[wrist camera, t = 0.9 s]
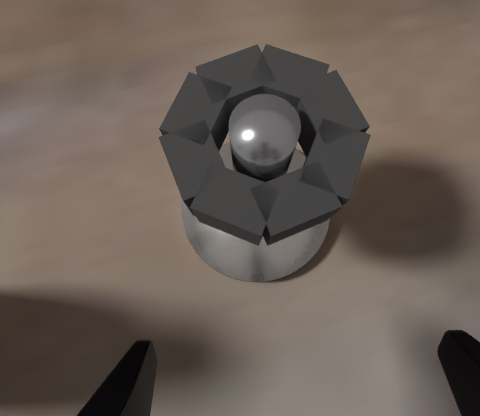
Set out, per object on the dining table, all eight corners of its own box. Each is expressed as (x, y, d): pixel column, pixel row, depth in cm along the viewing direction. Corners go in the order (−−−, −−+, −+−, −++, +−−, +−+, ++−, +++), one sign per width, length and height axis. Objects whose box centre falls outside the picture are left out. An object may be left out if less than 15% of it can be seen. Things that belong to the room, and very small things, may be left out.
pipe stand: (299, 306, 22) (361, 321, 10) (160, 247, 24) (70, 200, 12) (345, 171, 25) (439, 58, 13) (218, 125, 26) (194, -18, 14)
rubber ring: (313, 268, 14) (327, 262, 11) (149, 201, 15) (130, 183, 12) (365, 116, 16) (388, 83, 13) (217, 66, 17) (212, 27, 14)
